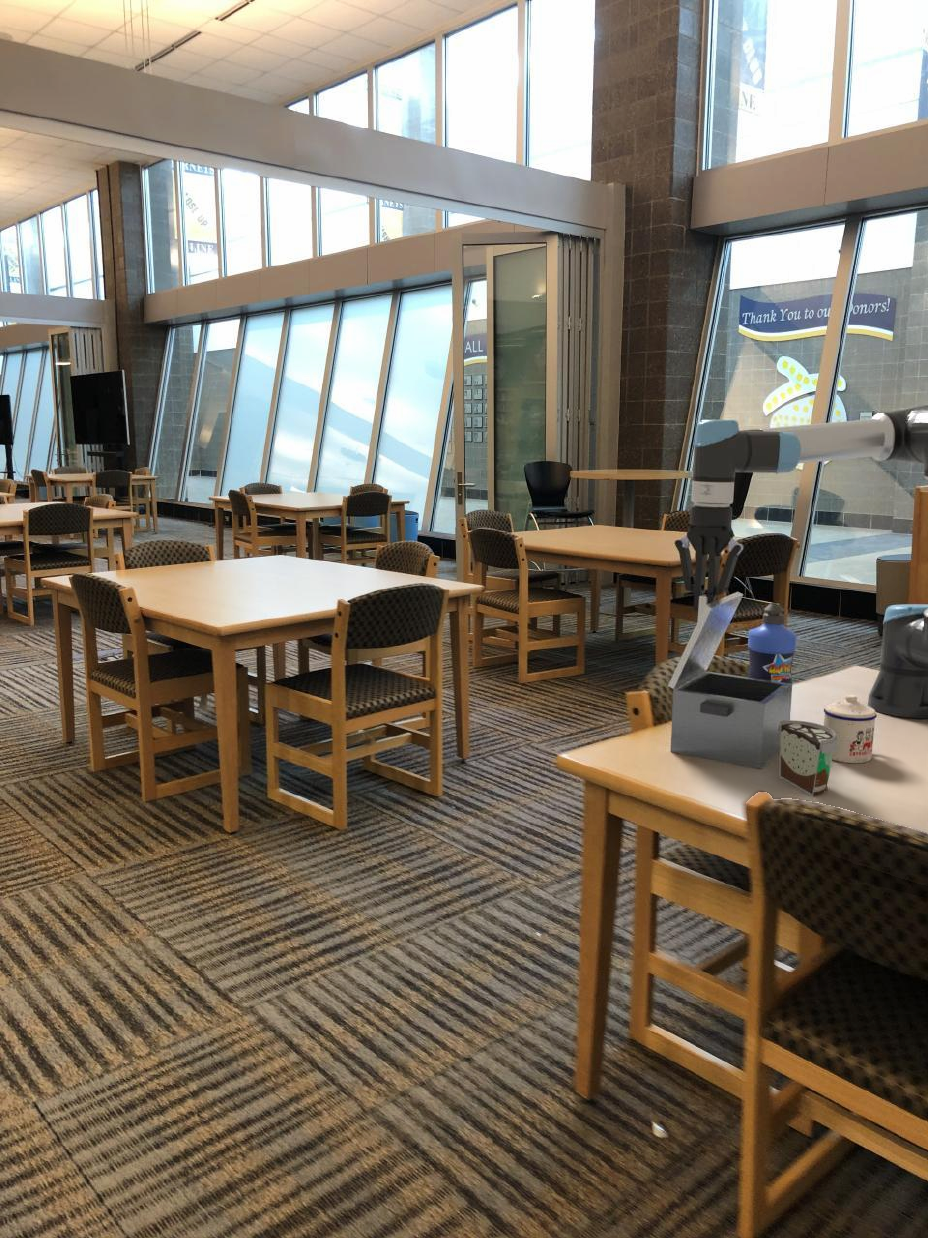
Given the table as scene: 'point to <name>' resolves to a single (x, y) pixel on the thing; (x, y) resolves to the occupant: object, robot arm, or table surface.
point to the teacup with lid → (851, 729)
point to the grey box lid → (705, 639)
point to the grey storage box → (729, 718)
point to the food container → (806, 754)
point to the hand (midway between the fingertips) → (703, 629)
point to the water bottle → (772, 648)
